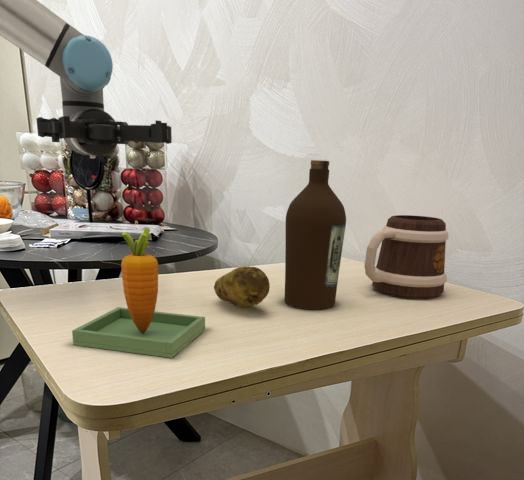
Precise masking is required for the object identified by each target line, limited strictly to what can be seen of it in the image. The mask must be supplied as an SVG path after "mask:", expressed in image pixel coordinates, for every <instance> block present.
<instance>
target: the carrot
mask: <svg viewBox="0 0 524 480" xmlns="http://www.w3.org/2000/svg"><path fill="white" fill-rule="evenodd" d="M150 231H151V228H149V227H148V226H145V227H144V229H143V232H141V233H140V235H139V237H138V239H135V240H134V239H133V237H132V236H131V235H130V234H129V233H128V232H127V231H124V232H122V233H121V236H122V237H123V240H125V242H126V244H127V245H128V247H129V249H130V251H131V252H132V253H130V254H128V255H126V256H123V258H122V259H121V263H120V265H121V278H122V287H123V294H124V299H125V303H126V308H128V310H129V313H130V316H131V318H132V320H133V322H134V324H135V325H136V327H137V329H138V330H139V331H140V332H141V333H144V332H145V331H146V330H147V329H148V327H149V325H150V323H151V321H152V318H153V315H154V312H155V311H156V307H157V301H158V292H159V262H158V259H157V258H156V257H155V256H153V255H151V254H149V253H145V251H146V249H147V247H148V245H149V244H150V241H149V238H150V233H151V232H150Z"/></svg>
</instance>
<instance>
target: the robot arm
mask: <svg viewBox="0 0 524 480" xmlns="http://www.w3.org/2000/svg"><path fill="white" fill-rule="evenodd" d="M0 37H2V38H3V39H5V40H6V41H8V42H9V43H10V44H12V45H13V46H15V47H16V48H18V49H20V50H21V51H23V53H26V54H27V55H28V56H30V57H31V58H33V59H34V60H35V61H37V62H38V63H40V64H41V65H43V66H44V67H46V68H47V69H48V70H50V71H51V72H53V73H54V74H56V75H57V76H58V77H59V82H60V93H61V101H62V102H61V105H62V107H61V109H62V116H60V117H58V118H57V117H52V118H44V117H42V116H39V117H36V118H35V120H36V129H37V130H36V131H37V136H38V137H40V138H45V137H46V138H51V143H61V140H63V141H64V142H65V143H66V145H67V146H68V148H69V149H70V150H72V151H73V152H75V153H76V154H79V155H83V156H89V158H90V159H91V160H95V159H96V157H102V156H107V155H108V154H110V153H112V152H113V151H114V150H115V149H116V148H117V146H118V145H128V144H129V143H130V142H132V143H134V144H139V143H152V144H161V143H162V144H163V143H164V144H167V145H170V144H172V142H173V140H172V138H173V137H172V136H173V135H172V126H171V125H168V123H167V122H162V120H155V121H154V122H155V123H150V125H149V124H148V125H146V124H145V125H143V124H141V125H140V124H129V123H128V122H127V121H116V120H115V119H114V118H113V117H112V115H111V114H109V112H107V111H105V104H104V89H105V87H106V86H108V85H109V83H110V82H111V79H112V74H113V69H114V67H113V66H114V64H113V58H112V55H111V53H110V51H109V50H108V48H107V46H106V44H104V42H102V41H101V40H100V39H98V38H96V37H95V36H92V35H85V34H83V33H82V32H81V31H79V30H78V29H76V28H75V27H74V26H72V25H71V24H69V23H67V21H66V20H64V19H63V18H61V17H60V16H59V15H57V14H56V13H55V12H53V10H51V9H50V8H48V7H47V6H45V4H43V3H41V1H39V0H0Z"/></svg>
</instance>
